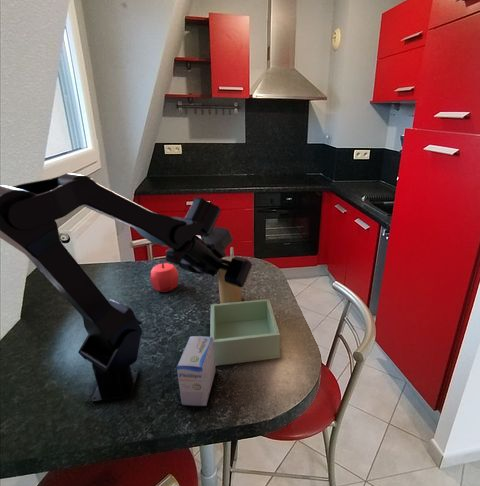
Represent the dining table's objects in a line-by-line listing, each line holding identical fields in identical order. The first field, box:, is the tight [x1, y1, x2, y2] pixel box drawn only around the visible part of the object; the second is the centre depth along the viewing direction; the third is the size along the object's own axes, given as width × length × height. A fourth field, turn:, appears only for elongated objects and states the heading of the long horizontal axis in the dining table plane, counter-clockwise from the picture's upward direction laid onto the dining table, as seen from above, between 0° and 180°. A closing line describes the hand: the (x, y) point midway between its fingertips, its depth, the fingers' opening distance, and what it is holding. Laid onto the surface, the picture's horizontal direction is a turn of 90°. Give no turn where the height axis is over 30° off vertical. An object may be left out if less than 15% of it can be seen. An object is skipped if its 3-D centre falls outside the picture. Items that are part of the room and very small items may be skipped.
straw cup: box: [217, 246, 242, 304], centre depth 82 cm, size 6×6×15 cm
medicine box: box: [176, 335, 216, 407], centre depth 57 cm, size 8×4×9 cm, turn 178°
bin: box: [209, 298, 281, 367], centre depth 70 cm, size 14×14×6 cm
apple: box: [150, 262, 179, 293], centre depth 91 cm, size 8×8×8 cm
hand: (230, 276), depth 83 cm, fingers open, 9 cm apart
